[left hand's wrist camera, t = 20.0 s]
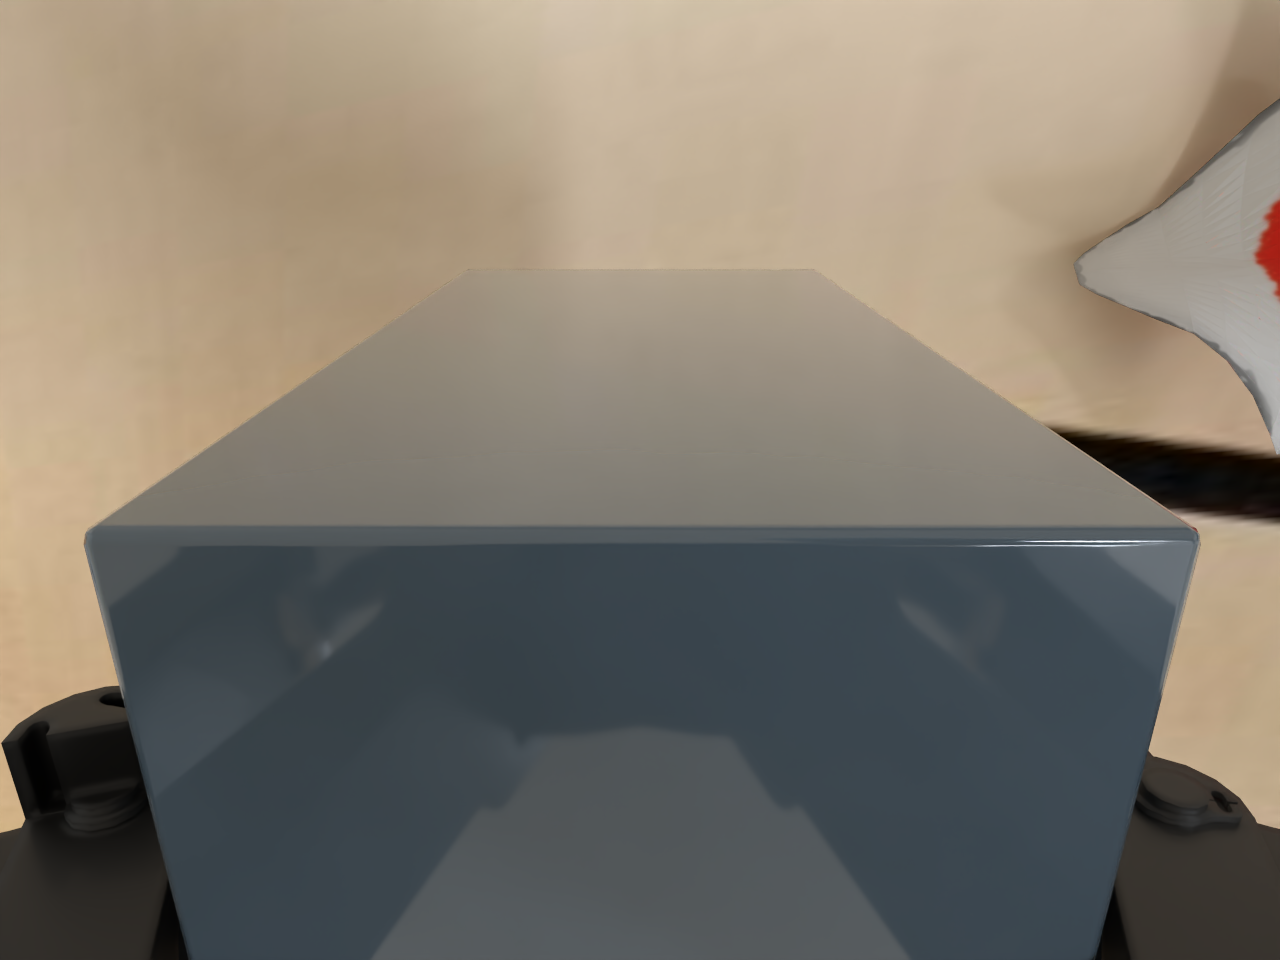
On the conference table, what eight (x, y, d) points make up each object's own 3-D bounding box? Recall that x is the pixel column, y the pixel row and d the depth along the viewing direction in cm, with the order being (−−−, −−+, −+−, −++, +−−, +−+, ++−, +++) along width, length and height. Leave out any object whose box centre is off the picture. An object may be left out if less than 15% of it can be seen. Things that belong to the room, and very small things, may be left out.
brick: (463, 269, 15) (72, 530, 5) (818, 269, 15) (1211, 530, 5) (493, 688, 18) (296, 1410, 8) (788, 688, 18) (985, 1411, 8)
